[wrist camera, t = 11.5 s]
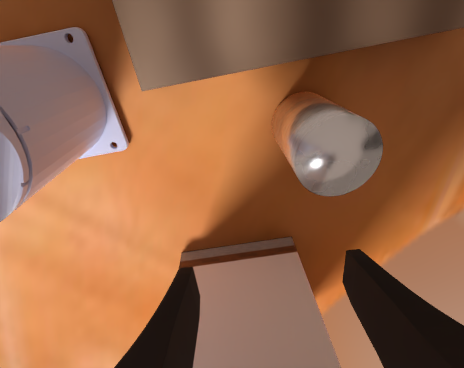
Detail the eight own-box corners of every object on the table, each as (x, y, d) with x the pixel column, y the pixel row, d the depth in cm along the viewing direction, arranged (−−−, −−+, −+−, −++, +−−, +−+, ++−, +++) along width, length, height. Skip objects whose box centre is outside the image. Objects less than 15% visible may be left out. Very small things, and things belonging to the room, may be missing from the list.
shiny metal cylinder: (274, 155, 21) (297, 202, 15) (268, 97, 19) (292, 124, 12) (331, 145, 21) (378, 188, 14) (331, 86, 18) (387, 106, 12)
